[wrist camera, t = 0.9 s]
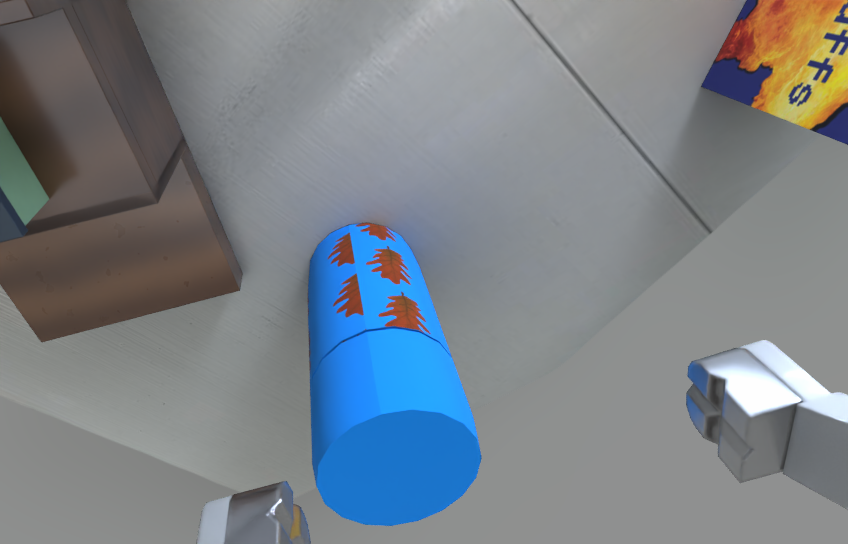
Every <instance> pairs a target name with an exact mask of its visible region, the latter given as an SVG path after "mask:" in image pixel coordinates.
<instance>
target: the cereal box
mask: <svg viewBox="0 0 848 544" xmlns="http://www.w3.org/2000/svg"><path fill="white" fill-rule="evenodd" d="M701 87H704V88H706V89H709V90H711V91H714V92H716V93H719V94H721V95H724V96H726V97H729V98H731V99H734V100H736V101H739V102H741V103H744V104H747V105H749V106H752V107H754V108H757V109H759V110H762V111H764V112H767V113H769V114H772V115H774V116H777V117H779V118H782V119H784V120H787V121H789V122H792V123H794V124H797V125H799V126H802V127H805V128H807V129H810V130H812V131H815V132H817V133H820V134H822V135H825V136H827V137H830V138H832V139H835V140H837V141H840V142H842V143H845V144H847V145H848V0H747V1H746V3H745V5H744V7H743V8H742V10H741V12H740V14H739V16H738V18H737V20H736V22H735V24H734V25H733V27H732V29H731V31H730V33H729V35H728V37H727V39H726V40H725V42H724V44H723V46H722V48H721V50H720V52H719V54H718V56H717V57H716V59H715V61H714V63H713V65H712V67H711V69H710V71H709V73H708V74H707V76H706V78H705V80H704V82H703V84H702V86H701Z"/></svg>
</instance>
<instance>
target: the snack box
mask: <svg viewBox="0 0 848 544" xmlns="http://www.w3.org/2000/svg"><path fill="white" fill-rule="evenodd" d="M48 200H49V197H48V196H47V194H46V192H45V191H44V189H43V187H42V186H41V184H40V182H39V181H38V179H37V177H36V176H35V174H34V172H33V171H32V169H31V167H30V166H29V164H28V162H27V161H26V159H25V157H24V155H23V154H22V152H21V150H20V149H19V147H18V145H17V144H16V142H15V140H14V139H13V137H12V135H11V134H10V132H9V130H8V129H7V127H6V125H5V124H4V122H3V120H2V119H1V117H0V242H4V241H8V240H12V239H16V238H20V237H23V236H24V235H25V234H26V233H27V232H28V229H27V228H26V224H27V223H28V222H29V221H30V220H31V219H32V218H33V217H34V216H35V215H36V213H37V212H38V211H39V210H40V209H41V208H42V207H43V206H44V205H45V204H46V202H47V201H48Z"/></svg>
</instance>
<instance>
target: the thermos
mask: <svg viewBox="0 0 848 544" xmlns="http://www.w3.org/2000/svg"><path fill="white" fill-rule="evenodd" d="M308 325H309V361H310V396H311V432H312V465H313V470H314V475H315V480H316V486H317V488H318V490H319V492H320V494H321V496H322V499H323V501H324V503H325V504H326V505H327V506H328V507H330V508H331V509H332V510H333V511H335V512H336V513H338V514H339V515H340V516H341V517H343V518H346V519H349V520H352V521H355V522H358V523H361V524H365V525H385V526H393V525H398V524H403V523H409V522H414V521H419V520H421V519H423V518H426V517H428V516H430V515H433V514H435V513H437V512H440V511H442V510H444V509H445V508H446V507H448V506H449V505H450V504H452V503H453V502H455V501H456V500H457V499H458V498H460V497H461V496H462V495H463V494H464V493H465V492H466V490H467V489H468V488H469V486H470V485H471V484H472V482H473V481H474V480H475V478H476V476H477V473H478V469H479V465H480V462H481V453H480V447H479V442H478V437H477V432H476V427H475V423H474V419H473V416H472V412H471V410H470V407H469V404H468V401H467V398H466V396H465V393H464V390H463V387H462V384H461V382H460V379H459V376H458V373H457V371H456V368H455V365H454V362H453V359H452V357H451V354H450V351H449V348H448V345H447V343H446V340H445V337H444V334H443V331H442V329H441V326H440V323H439V320H438V317H437V315H436V312H435V309H434V306H433V303H432V301H431V298H430V295H429V292H428V289H427V287H426V284H425V281H424V278H423V275H422V273H421V270H420V267H419V265H418V263H417V261H416V259H415V257H414V255H413V253H412V251H411V249H410V247H409V246H408V245H407V243H406V242H405V241H404V239H403V238H402V237H401V236H400V235H398V234H397V233H395V232H394V231H392V230H390V229H389V228H387V227H384V226H380V225H375V224H370V223H362V224H353V225H347V226H345V227H343V228H341V229H338V230H336V231H334V232H332V233H330V234H329V235H328V236H327V237H326V238H325V239H324V240H323V241H322V242H321V243H320V244H319V245H318V246H317V248H316V250H315V252H314V254H313V256H312V258H311V260H310V271H309V285H308Z"/></svg>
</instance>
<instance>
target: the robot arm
mask: <svg viewBox="0 0 848 544" xmlns="http://www.w3.org/2000/svg"><path fill="white" fill-rule="evenodd" d="M688 377H689V379H690V380H691V381H692V382H693V385H692V386H691V387H690V389H689V390H688V391H687V395H686V405H687V408H688V412H689V415H690V418H691V420H692V422H693V424H694V425H695V427H696V429H697V430H698V431H699V433H700V434H701V435H702V437H703V438H705V439H707V440H709V441H711V442H713V443H716V444H718V457H719V458H720V459H721V460H722V462H723V463H724V464H725V465H726V467H727V468H728V469H729V470H730V471H731V473H732V474H733V475H734V476H735V478H736V479H737V480H738V481H739V483H742V482H746V481H749V480H753V479H756V478H760V477H764V476H768V475H771V474H775V473H779V472H782V471H783V474H784V475H786V476H788V477H790V478H791V479H793V480H795V481H797V482H799V483H800V484H802V485H804V486H806V487H808V488H809V489H811V490H813V491H815V492H817V493H818V494H820V495H822V496H824V497H826V498H827V499H829V500H831V501H833V502H835V503H836V504H838V505H840V506H842V507H844V508H845V509H847V510H848V395H846V394H843V393H840V392H836V393H833V394H831V393H830V392H829V391H827V390H826V389H825V388H824V387H823V386H822V385H820V384H819V383H818V382H817V381H816V380H814V379H813V378H812V377H811V376H810V375H809V374H808V373H806V372H805V371H804V370H803V369H802V368H801V367H799V366H798V365H797V364H796V363H795V362H794V361H792V360H791V359H790V358H789V357H788V356H786V355H785V354H784V353H783V352H782V351H781V350H780V349H779V348H777V347H776V346H775V345H774V344H772V343H771V342H769V341H766V340H762V341H758V342H755V343H752V344H748V345H745V346H742V347H739V348H734V349H731V350H727V351H724V352H721V353H718V354H714V355H711V356H708V357H704V358H701V359H698V360H694V361H692V362H691V363H690V365H689V366H688ZM196 544H311V541H310V535H309V529H308V524H307V521H306V518H305V515H304V513H303V511H302V509H301V507H300V506H298V505H295V504H293V491H292V490H291V488H290V486H289V484H288V483H287V481H284V482H279V483H276V484H272V485H268V486H264V487H261V488H257V489H253V490H249V491H246V492H242V493H238V494H234V495H232V496H228V497H224V498H221V499H217V500H213V501H210V502H207V503H206V504H205V506H204V508H203V510H202V513H201V519H200V525H199V531H198V537H197V543H196Z"/></svg>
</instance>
